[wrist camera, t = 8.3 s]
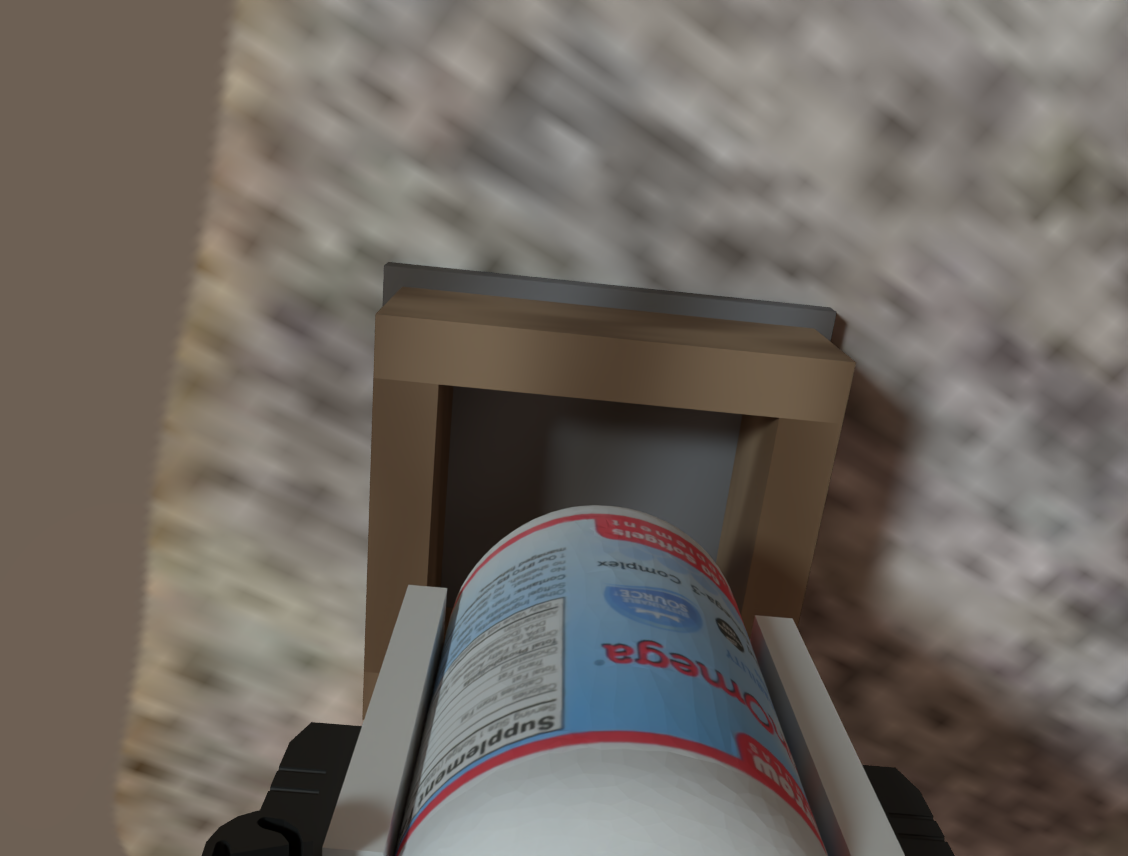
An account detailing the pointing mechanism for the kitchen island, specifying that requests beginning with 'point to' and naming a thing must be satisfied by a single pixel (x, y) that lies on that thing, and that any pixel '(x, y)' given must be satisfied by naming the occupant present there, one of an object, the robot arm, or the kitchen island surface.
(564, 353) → the socket
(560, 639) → the pill bottle
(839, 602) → the kitchen island surface
